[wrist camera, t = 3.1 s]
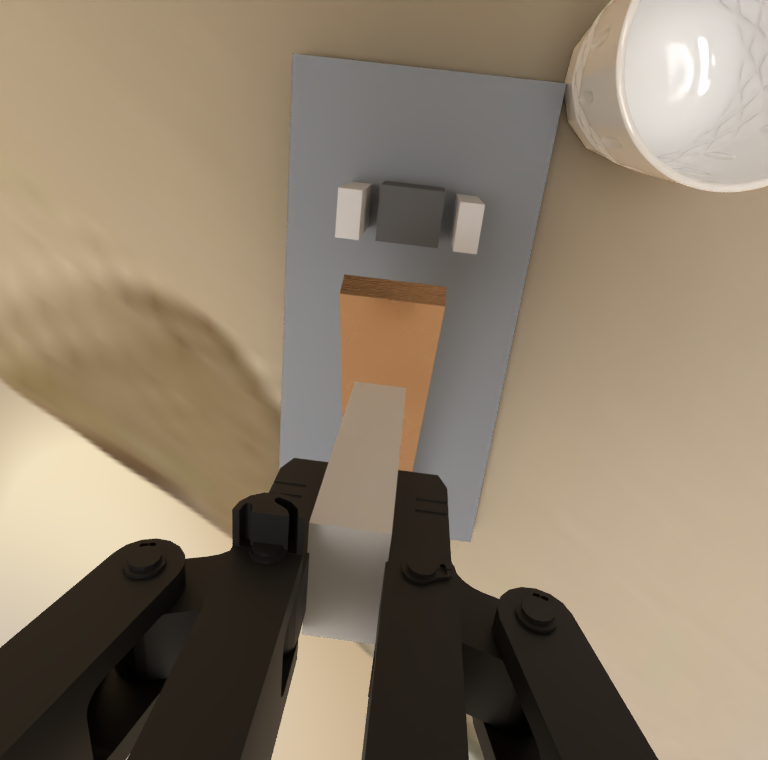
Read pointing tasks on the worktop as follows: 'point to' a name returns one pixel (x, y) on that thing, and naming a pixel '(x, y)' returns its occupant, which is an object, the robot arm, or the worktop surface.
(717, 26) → the white cup
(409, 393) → the strap
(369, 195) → the mount
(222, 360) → the worktop surface
